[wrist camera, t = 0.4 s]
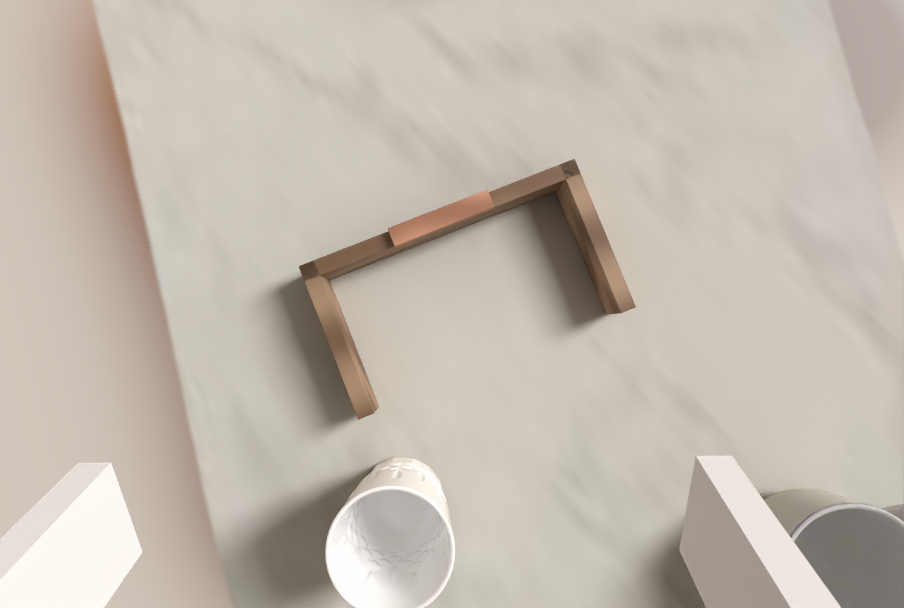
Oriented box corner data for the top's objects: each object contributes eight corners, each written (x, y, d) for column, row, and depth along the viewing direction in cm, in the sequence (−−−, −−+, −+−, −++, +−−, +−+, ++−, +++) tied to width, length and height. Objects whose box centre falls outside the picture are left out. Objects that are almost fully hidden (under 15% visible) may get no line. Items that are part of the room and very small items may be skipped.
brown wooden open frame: (619, 308, 43) (638, 306, 39) (364, 412, 42) (357, 421, 38) (563, 171, 43) (576, 155, 39) (309, 270, 42) (295, 264, 38)
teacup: (744, 628, 42) (816, 698, 34) (700, 497, 42) (761, 536, 34) (902, 571, 42) (1010, 627, 34) (858, 443, 43) (954, 469, 35)
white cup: (334, 520, 41) (301, 580, 31) (381, 431, 42) (363, 463, 32) (421, 566, 41) (416, 641, 31) (468, 477, 42) (477, 523, 32)
